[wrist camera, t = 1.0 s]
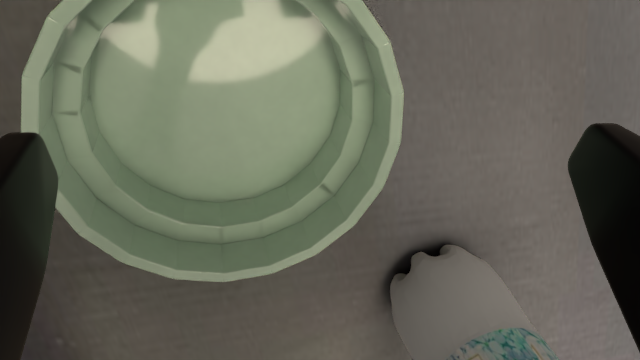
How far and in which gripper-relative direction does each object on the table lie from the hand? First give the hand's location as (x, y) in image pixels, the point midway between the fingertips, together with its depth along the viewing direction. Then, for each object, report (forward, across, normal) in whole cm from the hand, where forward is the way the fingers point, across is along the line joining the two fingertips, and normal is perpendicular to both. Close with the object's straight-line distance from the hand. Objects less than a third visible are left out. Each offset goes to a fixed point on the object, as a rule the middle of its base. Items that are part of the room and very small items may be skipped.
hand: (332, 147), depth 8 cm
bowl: (+11, +2, +7) cm, 14 cm away
